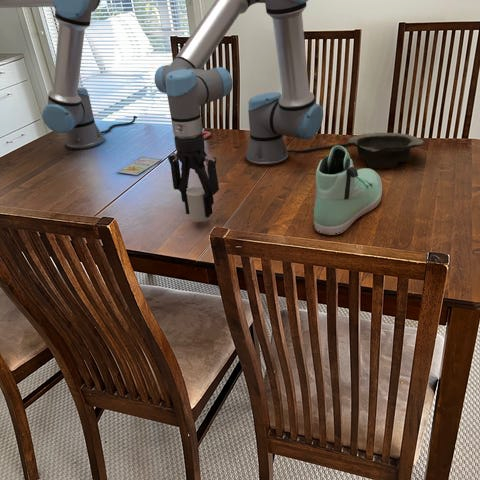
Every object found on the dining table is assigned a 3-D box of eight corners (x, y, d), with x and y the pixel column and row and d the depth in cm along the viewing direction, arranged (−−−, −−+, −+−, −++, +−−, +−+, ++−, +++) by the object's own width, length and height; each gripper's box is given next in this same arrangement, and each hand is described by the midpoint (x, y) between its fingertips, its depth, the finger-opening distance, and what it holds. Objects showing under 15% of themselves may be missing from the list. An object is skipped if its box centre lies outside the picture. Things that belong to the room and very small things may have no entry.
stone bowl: (381, 179, 153) (381, 151, 149) (333, 161, 173) (332, 136, 169) (438, 160, 162) (440, 133, 157) (386, 145, 182) (386, 120, 178)
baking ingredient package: (117, 171, 173) (141, 156, 185) (117, 172, 174) (141, 158, 185) (136, 174, 170) (160, 159, 181) (136, 175, 170) (160, 160, 181)
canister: (187, 221, 134) (183, 195, 129) (193, 211, 138) (189, 186, 134) (206, 222, 132) (203, 195, 128) (211, 212, 137) (208, 186, 133)
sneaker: (389, 187, 148) (396, 123, 138) (356, 242, 123) (361, 168, 112) (346, 181, 154) (350, 119, 144) (306, 232, 129) (307, 161, 118)
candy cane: (179, 144, 195) (179, 141, 194) (202, 133, 205) (202, 129, 204) (191, 147, 192) (190, 143, 191) (213, 135, 202) (213, 131, 201)
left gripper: (-92, 38, 165) (-67, 100, 176) (-14, 29, 172) (5, 89, 183) (-88, 35, 171) (-65, 95, 182) (-13, 27, 178) (5, 85, 189)
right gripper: (149, 136, 123) (164, 215, 135) (214, 142, 116) (223, 224, 128) (165, 126, 129) (177, 203, 141) (227, 131, 122) (234, 211, 134)
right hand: (199, 213), depth 135 cm, fingers closed on canister, 6 cm apart
